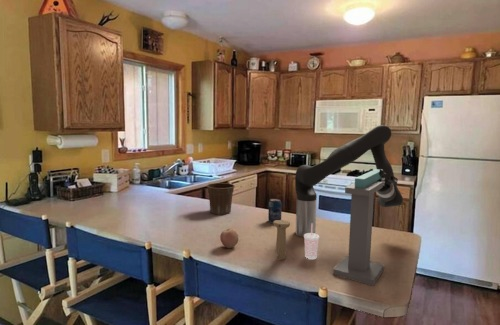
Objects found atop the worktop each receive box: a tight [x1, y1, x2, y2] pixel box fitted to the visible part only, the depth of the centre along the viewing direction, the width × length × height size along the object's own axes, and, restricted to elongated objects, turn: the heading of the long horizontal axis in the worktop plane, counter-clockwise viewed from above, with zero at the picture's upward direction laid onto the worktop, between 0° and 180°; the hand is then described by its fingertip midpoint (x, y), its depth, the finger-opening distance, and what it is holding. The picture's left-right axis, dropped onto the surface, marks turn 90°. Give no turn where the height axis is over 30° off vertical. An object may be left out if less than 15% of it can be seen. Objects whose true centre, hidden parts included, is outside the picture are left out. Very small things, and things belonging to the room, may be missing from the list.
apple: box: [219, 227, 239, 249], centre depth 142 cm, size 8×8×8 cm
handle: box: [272, 219, 291, 261], centre depth 130 cm, size 5×6×15 cm
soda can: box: [267, 198, 283, 224], centre depth 178 cm, size 7×7×12 cm
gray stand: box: [332, 181, 385, 286], centre depth 119 cm, size 18×14×32 cm
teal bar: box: [354, 168, 383, 188], centre depth 122 cm, size 26×3×3 cm, turn 145°
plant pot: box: [206, 182, 235, 216], centre depth 195 cm, size 16×16×16 cm
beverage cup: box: [303, 223, 320, 260], centre depth 132 cm, size 6×6×14 cm
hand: (375, 171), depth 128 cm, fingers closed on teal bar, 3 cm apart
